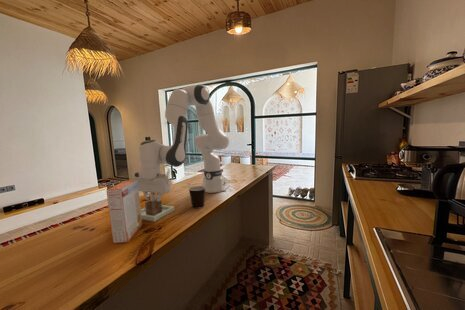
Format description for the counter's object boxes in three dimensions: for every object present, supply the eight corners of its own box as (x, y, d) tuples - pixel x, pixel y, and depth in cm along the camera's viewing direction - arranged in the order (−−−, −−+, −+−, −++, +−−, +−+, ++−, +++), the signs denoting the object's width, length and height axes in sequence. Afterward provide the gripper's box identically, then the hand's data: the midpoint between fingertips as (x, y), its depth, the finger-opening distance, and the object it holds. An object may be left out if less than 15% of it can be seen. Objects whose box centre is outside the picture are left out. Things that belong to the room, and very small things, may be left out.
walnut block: (154, 210, 104) (153, 199, 103) (162, 211, 101) (161, 200, 101) (145, 214, 99) (144, 202, 98) (154, 215, 96) (153, 203, 96)
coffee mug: (202, 209, 104) (201, 190, 103) (187, 208, 106) (186, 190, 105) (209, 201, 115) (208, 184, 114) (195, 201, 117) (194, 184, 116)
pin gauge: (154, 211, 101) (152, 189, 99) (157, 212, 100) (155, 189, 99) (151, 213, 99) (149, 190, 98) (154, 214, 99) (152, 190, 97)
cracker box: (129, 226, 88) (124, 180, 85) (142, 225, 88) (138, 179, 85) (111, 244, 74) (105, 189, 71) (128, 243, 74) (122, 188, 72)
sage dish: (154, 207, 109) (153, 203, 109) (174, 210, 104) (174, 206, 103) (132, 217, 96) (131, 213, 96) (154, 222, 91) (154, 217, 91)
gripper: (172, 173, 96) (174, 200, 98) (140, 171, 104) (143, 196, 106) (162, 175, 91) (165, 205, 92) (130, 173, 99) (133, 200, 100)
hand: (153, 200), depth 99 cm, fingers open, 5 cm apart
